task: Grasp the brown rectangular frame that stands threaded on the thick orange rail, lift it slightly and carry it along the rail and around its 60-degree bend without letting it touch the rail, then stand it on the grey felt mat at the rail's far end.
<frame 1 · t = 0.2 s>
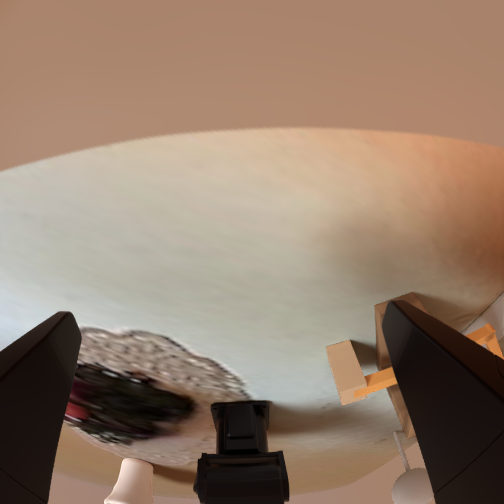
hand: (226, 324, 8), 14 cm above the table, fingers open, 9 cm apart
lollipop: (394, 431, 40), on the table
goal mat: (480, 337, 31), on the table
cup: (136, 463, 42), on the table
brown rectangular frame: (393, 332, 29), on the table
rail: (240, 416, 34), on the table
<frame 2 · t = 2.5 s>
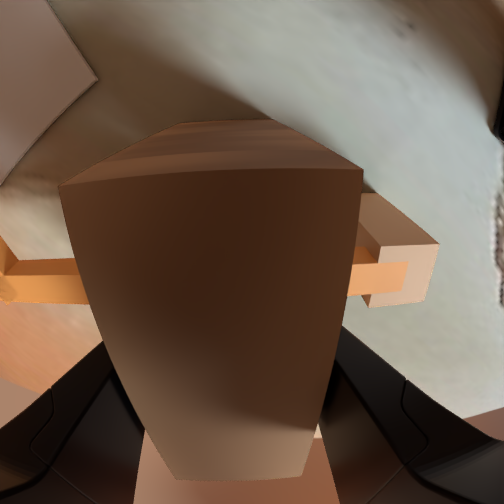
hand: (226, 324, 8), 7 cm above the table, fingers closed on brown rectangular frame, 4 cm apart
brown rectangular frame: (229, 219, 15), on the table, touching gripper
when the fingers open (8 cm above the table, at t = 8.6 s): brown rectangular frame stays where it is, resting on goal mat.
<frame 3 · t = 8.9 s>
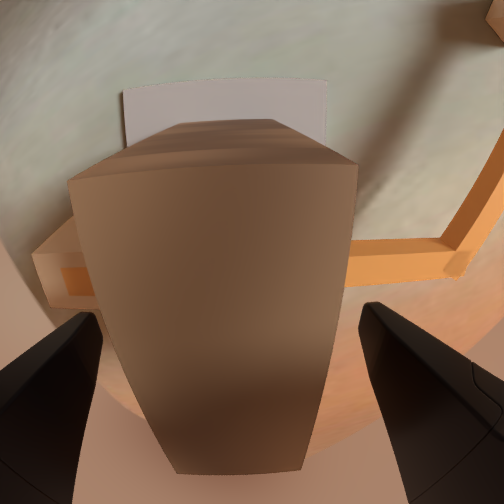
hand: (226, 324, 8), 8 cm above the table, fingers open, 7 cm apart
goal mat: (228, 215, 15), on the table
brown rectangular frame: (229, 217, 15), resting on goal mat
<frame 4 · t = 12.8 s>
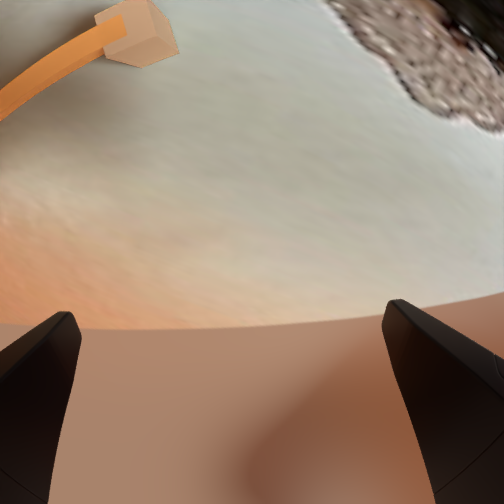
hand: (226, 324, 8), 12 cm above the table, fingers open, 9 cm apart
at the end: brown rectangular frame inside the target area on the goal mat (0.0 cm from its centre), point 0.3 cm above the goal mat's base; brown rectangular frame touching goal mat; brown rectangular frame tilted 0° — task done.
